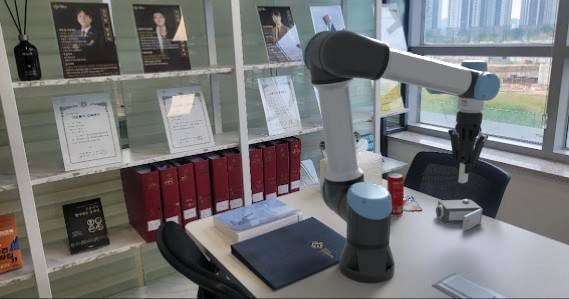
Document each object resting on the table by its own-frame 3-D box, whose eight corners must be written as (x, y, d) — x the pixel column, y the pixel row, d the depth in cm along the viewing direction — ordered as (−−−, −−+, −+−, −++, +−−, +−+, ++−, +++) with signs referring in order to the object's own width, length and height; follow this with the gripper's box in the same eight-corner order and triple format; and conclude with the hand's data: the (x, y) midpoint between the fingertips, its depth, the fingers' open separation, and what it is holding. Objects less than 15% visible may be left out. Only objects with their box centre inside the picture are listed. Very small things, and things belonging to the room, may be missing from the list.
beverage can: (405, 212, 158) (407, 173, 154) (399, 218, 152) (401, 178, 148) (389, 208, 161) (391, 170, 157) (383, 214, 155) (385, 175, 151)
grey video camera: (441, 223, 147) (443, 206, 146) (432, 214, 155) (434, 198, 153) (479, 222, 148) (481, 205, 146) (469, 213, 155) (471, 197, 154)
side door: (465, 231, 141) (467, 217, 139) (461, 230, 142) (463, 216, 140) (482, 222, 147) (484, 209, 146) (478, 221, 148) (480, 208, 147)
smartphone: (402, 210, 158) (393, 196, 173) (402, 212, 158) (393, 197, 173) (423, 210, 158) (412, 195, 172) (423, 212, 158) (412, 197, 173)
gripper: (444, 109, 138) (438, 178, 144) (481, 114, 127) (473, 189, 133) (459, 106, 142) (452, 174, 148) (496, 112, 131) (488, 185, 137)
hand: (462, 181), depth 140 cm, fingers closed
